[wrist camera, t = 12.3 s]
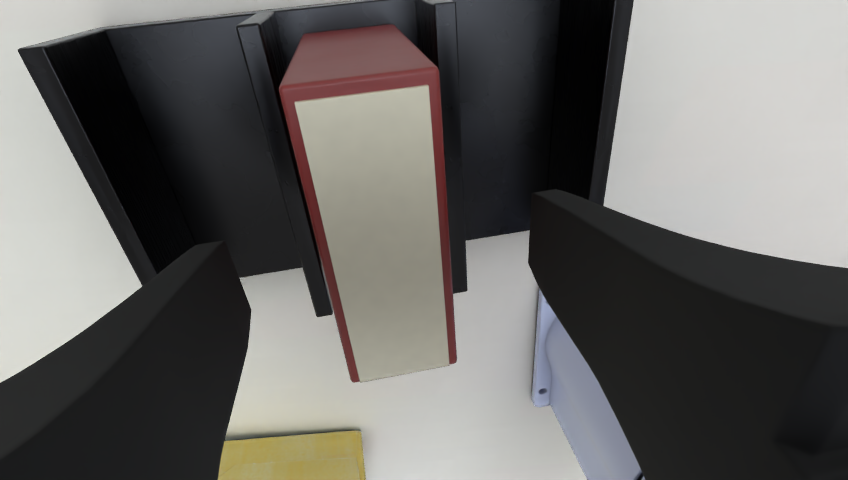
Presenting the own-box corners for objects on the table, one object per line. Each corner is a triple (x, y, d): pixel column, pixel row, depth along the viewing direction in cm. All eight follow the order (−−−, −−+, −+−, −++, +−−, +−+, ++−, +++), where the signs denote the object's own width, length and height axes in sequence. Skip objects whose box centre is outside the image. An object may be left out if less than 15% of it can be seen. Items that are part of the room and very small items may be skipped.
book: (416, 231, 19) (458, 366, 13) (345, 242, 19) (351, 387, 12) (394, 23, 15) (440, 67, 8) (301, 33, 14) (276, 87, 8)
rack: (548, 215, 21) (594, 269, 17) (203, 271, 19) (172, 343, 16) (566, -23, 16) (637, -19, 12) (98, 27, 14) (15, 48, 10)
